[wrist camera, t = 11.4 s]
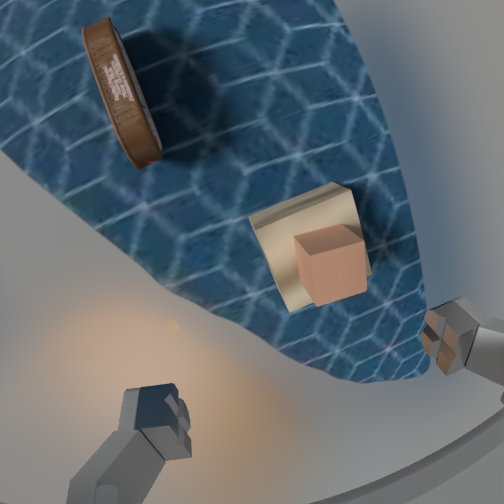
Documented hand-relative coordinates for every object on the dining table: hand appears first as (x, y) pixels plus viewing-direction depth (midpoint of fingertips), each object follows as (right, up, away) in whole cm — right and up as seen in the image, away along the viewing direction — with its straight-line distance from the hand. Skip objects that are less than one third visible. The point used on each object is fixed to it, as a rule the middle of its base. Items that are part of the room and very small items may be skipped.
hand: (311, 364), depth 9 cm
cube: (+5, +3, +22) cm, 23 cm away
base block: (+4, +5, +27) cm, 28 cm away
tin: (-14, +19, +18) cm, 30 cm away
